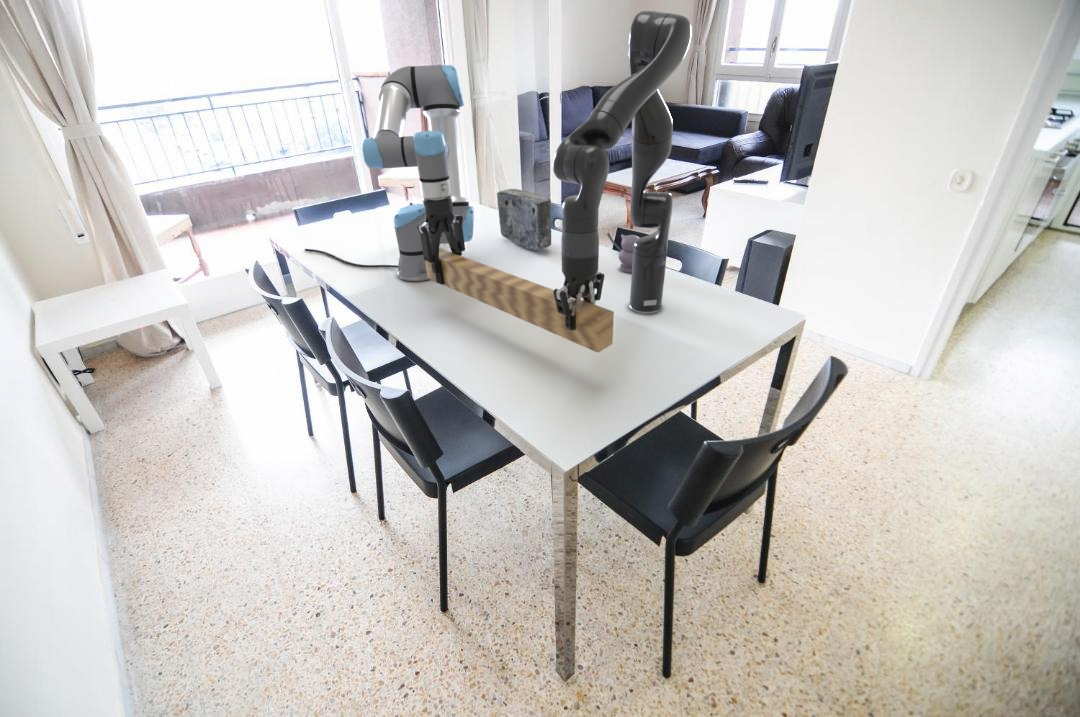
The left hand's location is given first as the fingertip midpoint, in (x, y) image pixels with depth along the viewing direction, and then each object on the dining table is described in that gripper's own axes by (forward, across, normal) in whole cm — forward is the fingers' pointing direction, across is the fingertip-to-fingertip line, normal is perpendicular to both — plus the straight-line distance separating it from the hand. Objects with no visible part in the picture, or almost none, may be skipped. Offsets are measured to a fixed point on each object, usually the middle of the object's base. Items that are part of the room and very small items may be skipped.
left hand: (448, 279), depth 141 cm
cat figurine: (+11, +62, -20) cm, 66 cm away
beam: (0, -1, -25) cm, 25 cm away
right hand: (-3, -1, -50) cm, 50 cm away
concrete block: (+12, +57, +26) cm, 64 cm away
